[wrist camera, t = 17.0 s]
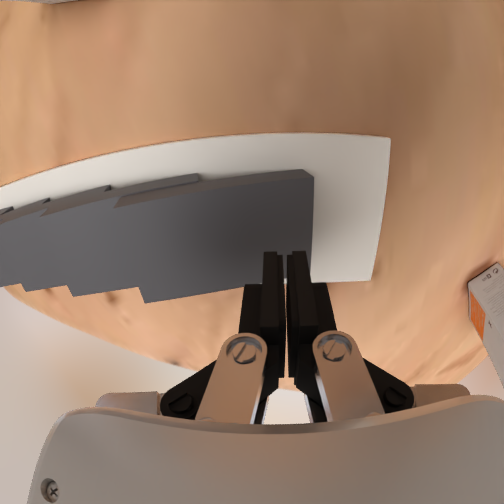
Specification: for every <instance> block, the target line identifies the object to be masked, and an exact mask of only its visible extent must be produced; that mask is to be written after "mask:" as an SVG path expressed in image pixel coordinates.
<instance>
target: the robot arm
mask: <svg viewBox="0 0 504 504" xmlns="http://www.w3.org/2000/svg"><path fill="white" fill-rule="evenodd" d="M286 317H287V342H288V374H289V378H290V377H294V385H296V388H298V389H299V390H300V391H302V392H303V393H304V397H305V402H306V406H307V411H308V415H309V419H310V423H306V424H282V425H281V424H278V425H277V424H275V425H264V424H263V423H264V419H265V414H266V410H267V405H268V401H269V395H270V394H272V392H274V391H275V390H276V389H278V382H279V378H284V370H285V347H286ZM27 504H504V401H503V400H502V399H500V398H497V397H493V396H487V395H470V392H469V391H468V389H467V388H466V387H464V386H463V385H460V384H415V386H414V387H409V386H408V385H407V384H405V383H404V382H402V381H401V380H399V379H397V378H396V377H394V376H392V375H391V374H389V373H387V372H386V371H384V370H382V369H381V368H379V367H377V366H376V365H374V364H372V363H371V362H369V361H367V360H366V359H364V358H362V356H361V353H360V351H359V349H358V346H357V344H356V342H355V341H354V339H353V338H352V337H351V336H350V335H348V334H346V333H344V332H341V331H337V328H336V323H335V319H334V314H333V310H332V305H331V301H330V296H329V292H328V288H327V284H326V282H315V283H312V282H311V276H310V271H309V265H308V260H307V255H306V251H292V255H287V285H286V309H285V288H284V270H283V255H277V251H266V252H264V255H263V277H262V284H245V286H244V293H243V300H242V308H241V316H240V324H239V332H238V334H235V335H233V336H231V337H229V338H228V339H227V340H226V341H225V342H224V344H223V345H222V347H221V350H220V353H219V355H218V358H217V360H215V361H214V362H212V363H211V364H209V365H208V366H206V367H205V368H203V369H202V370H200V371H198V372H197V373H195V374H194V375H192V376H191V377H189V378H188V379H186V380H184V381H183V382H181V383H179V384H178V385H176V386H174V387H173V388H171V389H170V390H168V391H167V392H166V393H162V394H159V393H158V392H157V391H156V392H135V393H108V394H105V395H103V396H101V397H100V399H99V400H98V401H97V403H96V406H95V407H86V408H80V409H75V410H72V411H69V412H67V413H65V414H63V415H62V416H61V417H60V418H58V420H57V421H56V422H55V424H54V425H53V427H52V429H51V431H50V433H49V434H48V436H47V439H46V441H45V443H44V445H43V448H42V451H41V453H40V456H39V459H38V462H37V465H36V469H35V472H34V476H33V479H32V483H31V488H30V492H29V496H28V501H27Z"/></svg>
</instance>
